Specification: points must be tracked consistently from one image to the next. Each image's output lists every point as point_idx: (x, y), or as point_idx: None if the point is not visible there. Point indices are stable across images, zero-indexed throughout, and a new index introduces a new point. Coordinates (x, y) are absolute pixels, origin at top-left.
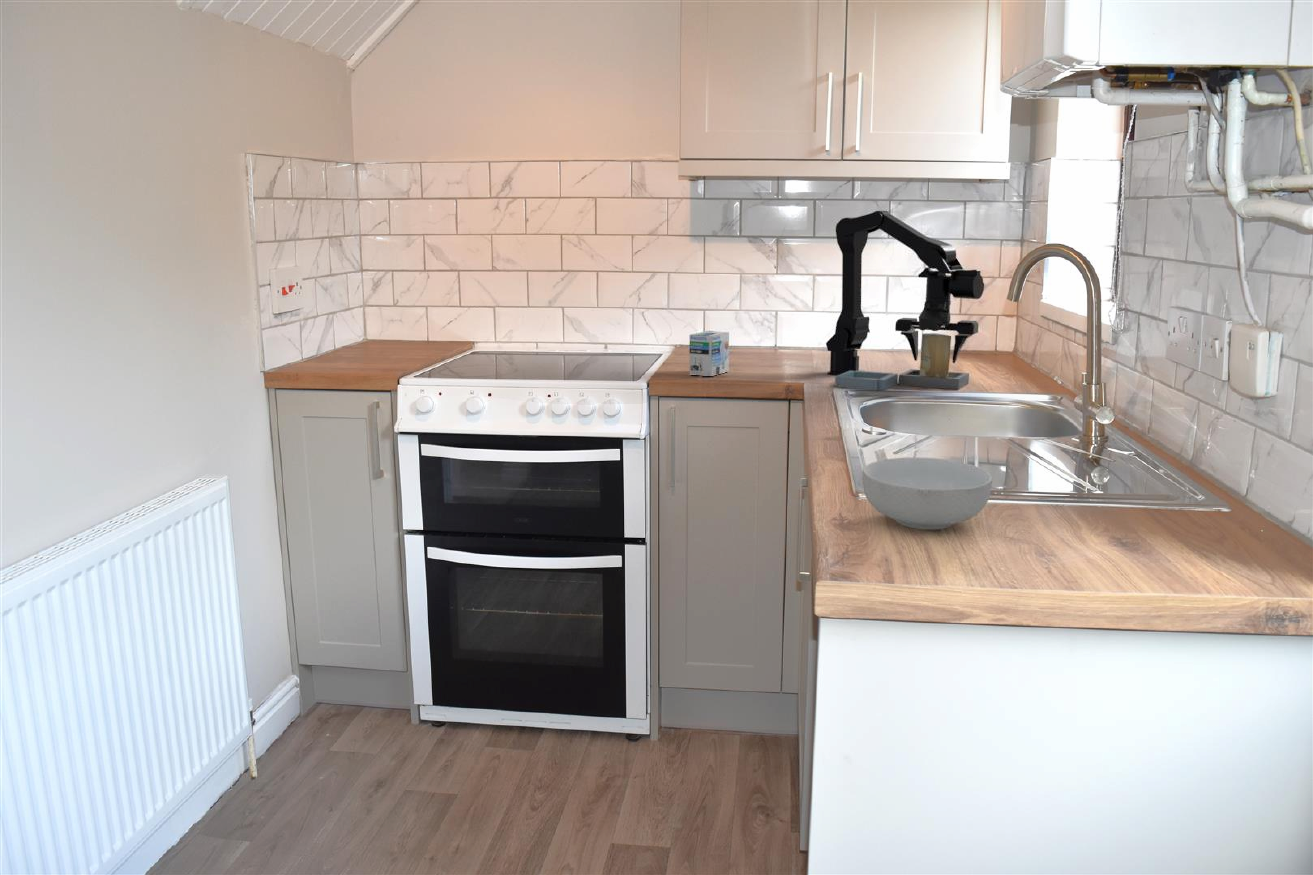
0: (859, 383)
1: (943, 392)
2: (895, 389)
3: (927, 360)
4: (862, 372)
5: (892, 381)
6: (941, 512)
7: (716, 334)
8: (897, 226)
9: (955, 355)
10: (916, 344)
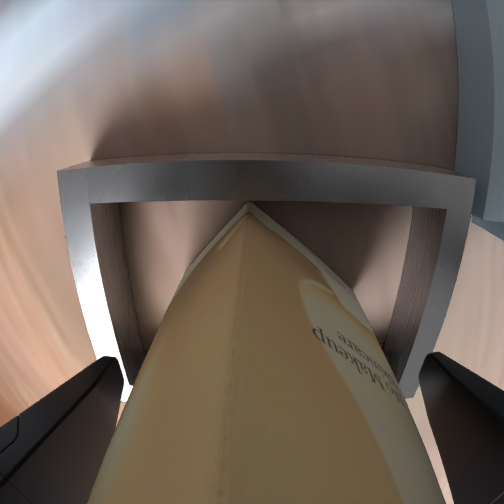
0: None
1: (140, 25)
2: (420, 21)
3: (339, 334)
4: None
5: (474, 105)
6: None
7: None
8: None
9: (66, 390)
10: (478, 466)
